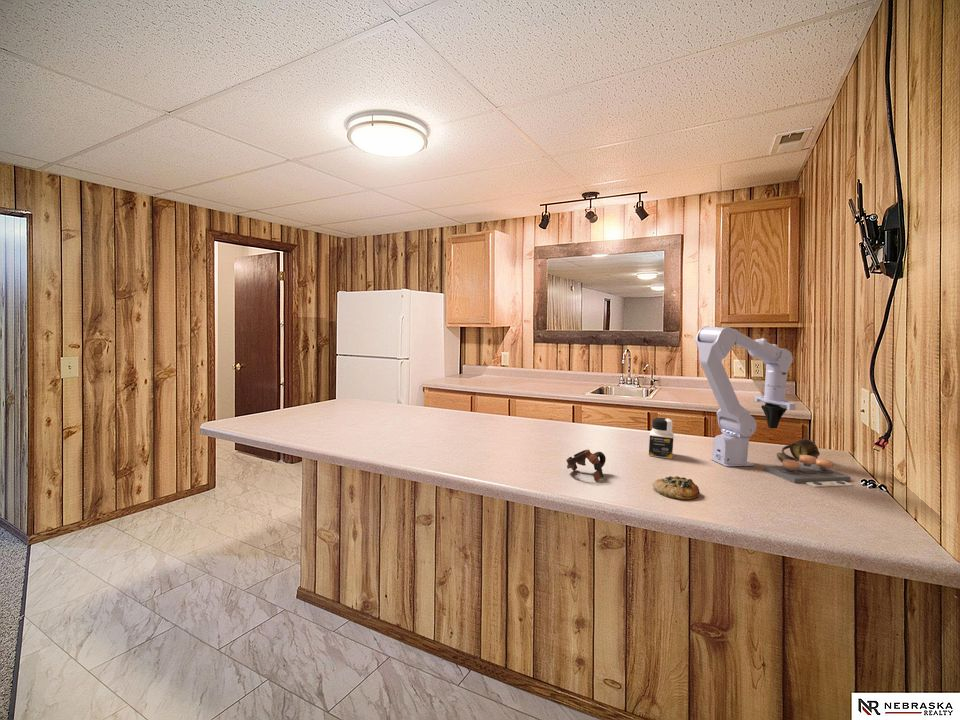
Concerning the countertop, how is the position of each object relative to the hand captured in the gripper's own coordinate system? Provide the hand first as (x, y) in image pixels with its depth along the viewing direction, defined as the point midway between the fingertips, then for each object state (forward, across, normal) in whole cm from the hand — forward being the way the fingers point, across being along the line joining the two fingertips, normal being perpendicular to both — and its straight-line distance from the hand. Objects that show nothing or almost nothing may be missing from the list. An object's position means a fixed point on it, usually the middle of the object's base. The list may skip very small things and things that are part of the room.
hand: (772, 427), depth 152 cm
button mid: (+7, -15, +1) cm, 17 cm away
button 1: (+8, -15, +7) cm, 19 cm away
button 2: (+9, -15, -4) cm, 18 cm away
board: (+10, -15, +1) cm, 18 cm away
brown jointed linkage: (+9, -9, +66) cm, 67 cm away
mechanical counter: (+11, -1, -8) cm, 14 cm away
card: (+10, -23, +1) cm, 25 cm away
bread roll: (+10, -24, +48) cm, 55 cm away
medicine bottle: (+10, +8, +34) cm, 36 cm away
